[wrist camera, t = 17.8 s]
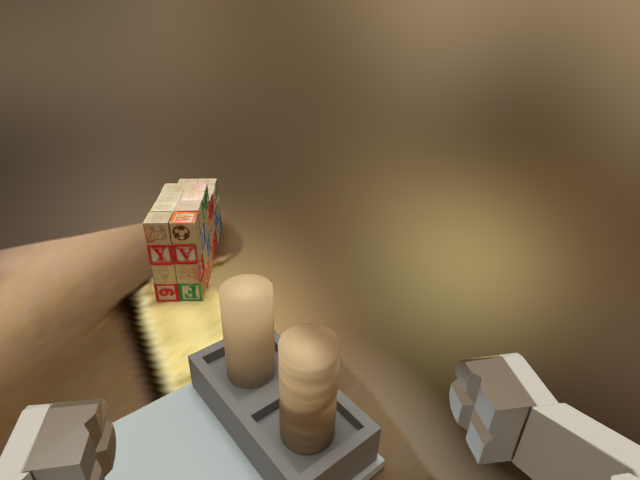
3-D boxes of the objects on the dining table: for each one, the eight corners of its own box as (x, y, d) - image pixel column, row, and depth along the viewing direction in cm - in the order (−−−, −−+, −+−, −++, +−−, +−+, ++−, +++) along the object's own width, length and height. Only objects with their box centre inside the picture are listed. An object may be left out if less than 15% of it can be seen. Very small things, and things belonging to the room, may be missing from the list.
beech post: (302, 466, 38) (304, 377, 33) (268, 427, 41) (265, 340, 36) (345, 434, 40) (353, 347, 35) (311, 399, 43) (313, 315, 38)
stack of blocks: (186, 227, 81) (177, 160, 75) (222, 227, 81) (216, 160, 75) (156, 303, 62) (141, 221, 56) (203, 302, 63) (194, 221, 57)
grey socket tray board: (113, 691, 28) (55, 575, 22) (39, 468, 41) (-13, 349, 34) (383, 467, 42) (401, 351, 35) (266, 351, 55) (261, 249, 48)
